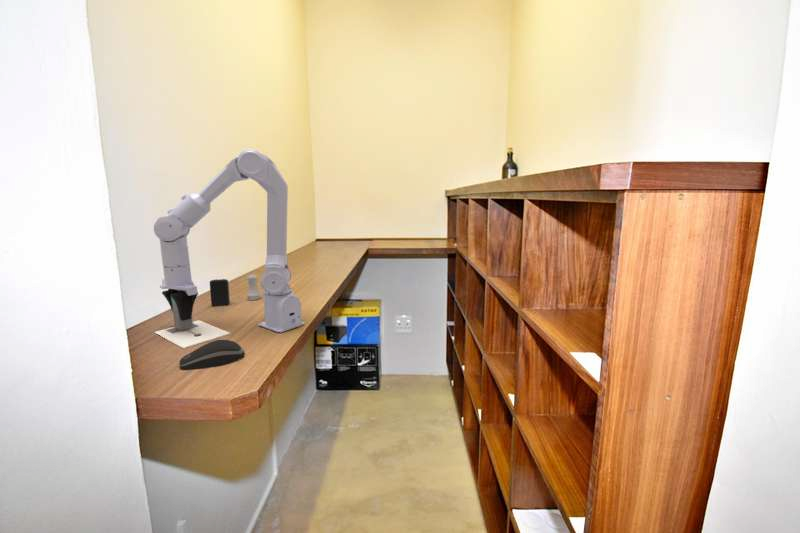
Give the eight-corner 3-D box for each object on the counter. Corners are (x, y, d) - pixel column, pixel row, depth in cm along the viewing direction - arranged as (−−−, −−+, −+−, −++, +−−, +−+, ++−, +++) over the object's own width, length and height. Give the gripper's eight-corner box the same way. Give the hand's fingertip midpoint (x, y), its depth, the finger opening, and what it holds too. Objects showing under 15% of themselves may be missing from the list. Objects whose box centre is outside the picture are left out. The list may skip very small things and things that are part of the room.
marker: (193, 327, 97) (189, 293, 95) (180, 331, 94) (176, 296, 93) (187, 325, 99) (183, 291, 97) (174, 328, 96) (170, 294, 94)
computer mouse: (180, 361, 80) (177, 343, 79) (242, 349, 85) (241, 332, 85) (179, 375, 74) (176, 356, 73) (246, 361, 79) (245, 343, 79)
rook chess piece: (256, 301, 122) (254, 276, 121) (243, 300, 123) (241, 276, 122) (263, 297, 126) (262, 273, 125) (251, 296, 127) (249, 273, 126)
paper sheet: (230, 334, 94) (230, 332, 94) (183, 348, 85) (183, 347, 85) (199, 321, 103) (198, 319, 103) (154, 333, 95) (153, 331, 95)
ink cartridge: (230, 303, 120) (228, 278, 118) (229, 305, 118) (227, 280, 116) (212, 304, 119) (210, 279, 117) (211, 306, 116) (209, 281, 115)
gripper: (146, 264, 94) (153, 316, 97) (172, 271, 86) (179, 328, 89) (176, 260, 100) (182, 309, 103) (203, 266, 91) (209, 320, 94)
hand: (183, 318), depth 96 cm, fingers closed on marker, 3 cm apart
